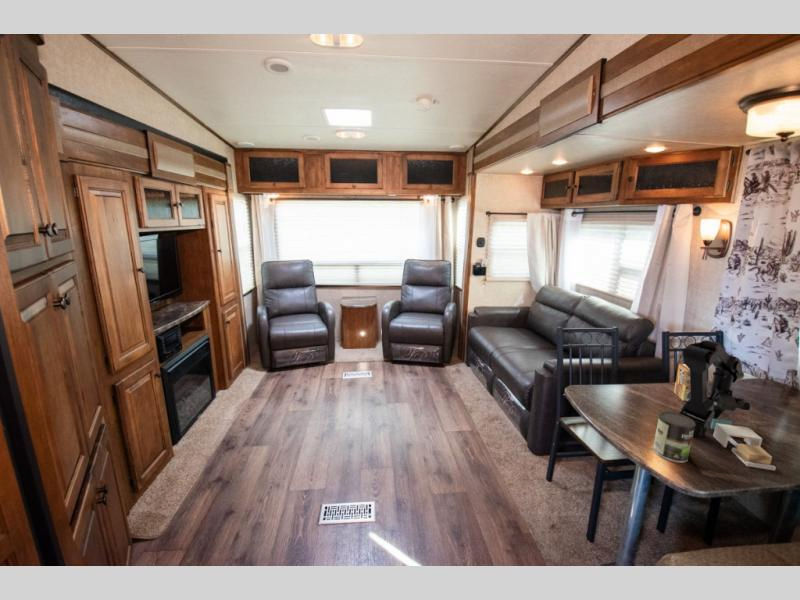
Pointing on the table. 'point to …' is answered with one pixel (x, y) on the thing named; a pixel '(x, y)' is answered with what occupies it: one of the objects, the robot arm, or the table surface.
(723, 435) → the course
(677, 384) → the candy box
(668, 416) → the coffee can
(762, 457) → the block
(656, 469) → the table surface
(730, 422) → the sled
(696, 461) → the table surface
